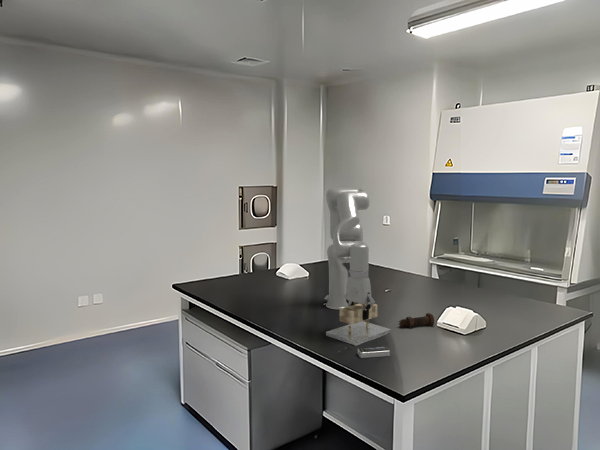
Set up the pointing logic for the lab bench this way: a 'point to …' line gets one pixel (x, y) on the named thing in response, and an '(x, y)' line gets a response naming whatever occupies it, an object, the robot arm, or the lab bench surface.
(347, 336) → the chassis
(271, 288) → the lab bench surface
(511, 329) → the lab bench surface
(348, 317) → the tan rectangular block
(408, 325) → the bolt
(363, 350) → the multiport hub
